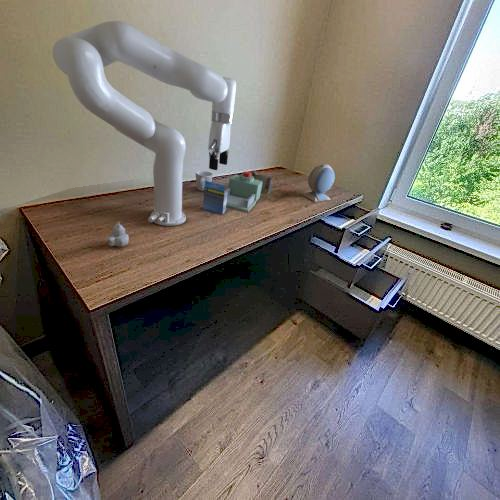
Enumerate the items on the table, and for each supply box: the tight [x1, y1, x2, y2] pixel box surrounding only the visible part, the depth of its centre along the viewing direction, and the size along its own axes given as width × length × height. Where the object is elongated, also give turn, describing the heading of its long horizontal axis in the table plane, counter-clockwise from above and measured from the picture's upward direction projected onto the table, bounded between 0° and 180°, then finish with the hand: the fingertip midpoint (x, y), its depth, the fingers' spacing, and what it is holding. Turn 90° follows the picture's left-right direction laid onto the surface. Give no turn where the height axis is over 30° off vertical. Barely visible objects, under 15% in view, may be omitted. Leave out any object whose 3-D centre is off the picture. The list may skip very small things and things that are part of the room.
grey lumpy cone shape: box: [106, 221, 130, 248], centre depth 81 cm, size 5×7×8 cm
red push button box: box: [228, 173, 263, 202], centre depth 132 cm, size 8×14×10 cm, turn 72°
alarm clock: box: [302, 163, 336, 203], centre depth 144 cm, size 14×10×18 cm
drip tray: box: [224, 187, 257, 213], centre depth 124 cm, size 12×15×4 cm
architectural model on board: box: [251, 169, 277, 195], centre depth 142 cm, size 11×3×10 cm, turn 56°
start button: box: [242, 171, 252, 178], centre depth 129 cm, size 4×4×2 cm
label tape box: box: [202, 180, 227, 215], centre depth 112 cm, size 9×4×12 cm, turn 72°
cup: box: [195, 170, 214, 192], centre depth 131 cm, size 11×8×8 cm
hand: (218, 166), depth 106 cm, fingers open, 9 cm apart
